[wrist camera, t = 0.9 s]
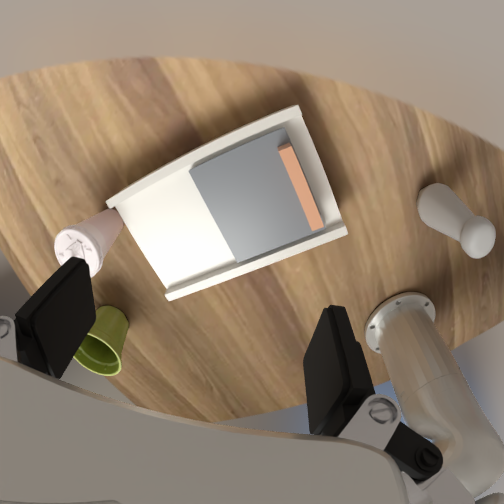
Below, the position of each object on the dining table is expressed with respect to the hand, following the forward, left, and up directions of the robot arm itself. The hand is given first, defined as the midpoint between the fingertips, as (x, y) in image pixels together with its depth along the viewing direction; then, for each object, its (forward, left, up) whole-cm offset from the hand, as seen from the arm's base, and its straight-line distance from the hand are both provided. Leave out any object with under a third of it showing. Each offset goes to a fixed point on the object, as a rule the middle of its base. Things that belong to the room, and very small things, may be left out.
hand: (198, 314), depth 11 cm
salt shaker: (-12, -21, -26) cm, 36 cm away
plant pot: (-12, +30, -26) cm, 41 cm away
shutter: (-2, -1, -20) cm, 21 cm away
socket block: (-2, +3, -26) cm, 26 cm away
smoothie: (+2, +19, -26) cm, 32 cm away
